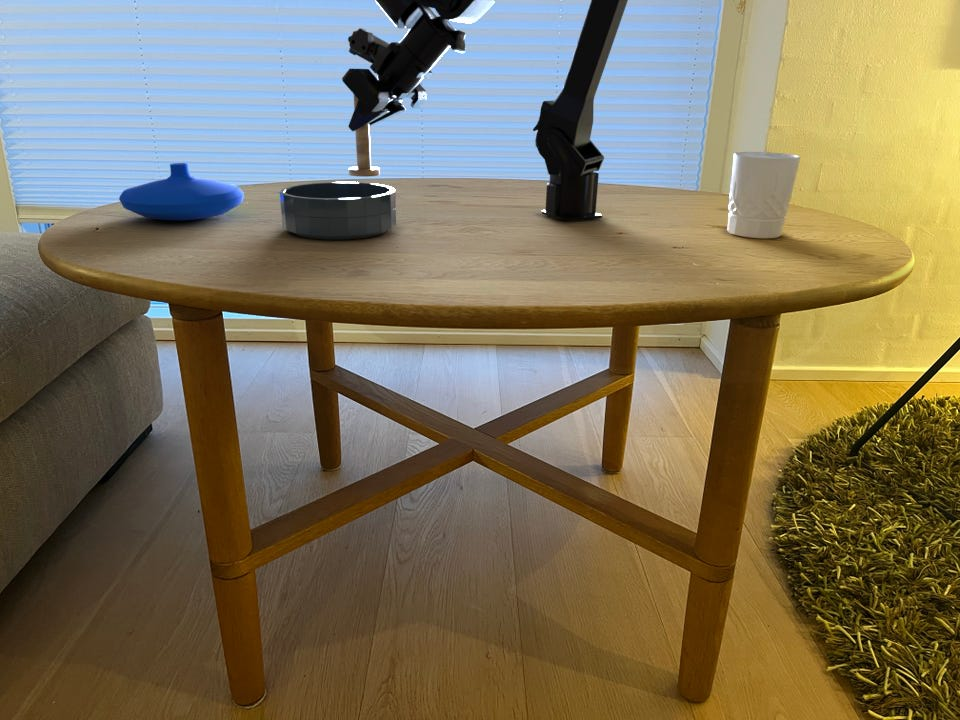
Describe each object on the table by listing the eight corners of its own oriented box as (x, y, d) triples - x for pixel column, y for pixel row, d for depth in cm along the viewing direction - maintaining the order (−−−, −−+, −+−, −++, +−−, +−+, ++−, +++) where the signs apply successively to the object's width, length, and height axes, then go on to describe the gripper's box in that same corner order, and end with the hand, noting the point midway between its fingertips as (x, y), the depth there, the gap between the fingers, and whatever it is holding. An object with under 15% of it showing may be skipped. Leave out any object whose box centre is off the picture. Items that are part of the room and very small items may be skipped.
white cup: (787, 231, 93) (801, 154, 90) (784, 242, 87) (799, 159, 83) (726, 225, 96) (737, 150, 93) (718, 236, 90) (730, 155, 86)
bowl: (375, 216, 99) (373, 180, 97) (412, 235, 87) (411, 195, 85) (273, 223, 92) (269, 185, 91) (298, 245, 81) (295, 202, 79)
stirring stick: (374, 171, 115) (370, 80, 110) (384, 175, 111) (381, 81, 106) (344, 173, 113) (339, 80, 108) (354, 177, 109) (349, 80, 103)
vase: (95, 224, 90) (84, 168, 87) (171, 204, 104) (163, 155, 102) (204, 231, 87) (196, 173, 84) (267, 210, 101) (262, 160, 99)
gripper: (406, 15, 110) (348, 88, 117) (351, 3, 94) (286, 89, 101) (453, 69, 111) (392, 139, 118) (406, 67, 94) (338, 148, 102)
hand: (354, 128), depth 110 cm, fingers closed on stirring stick, 2 cm apart
